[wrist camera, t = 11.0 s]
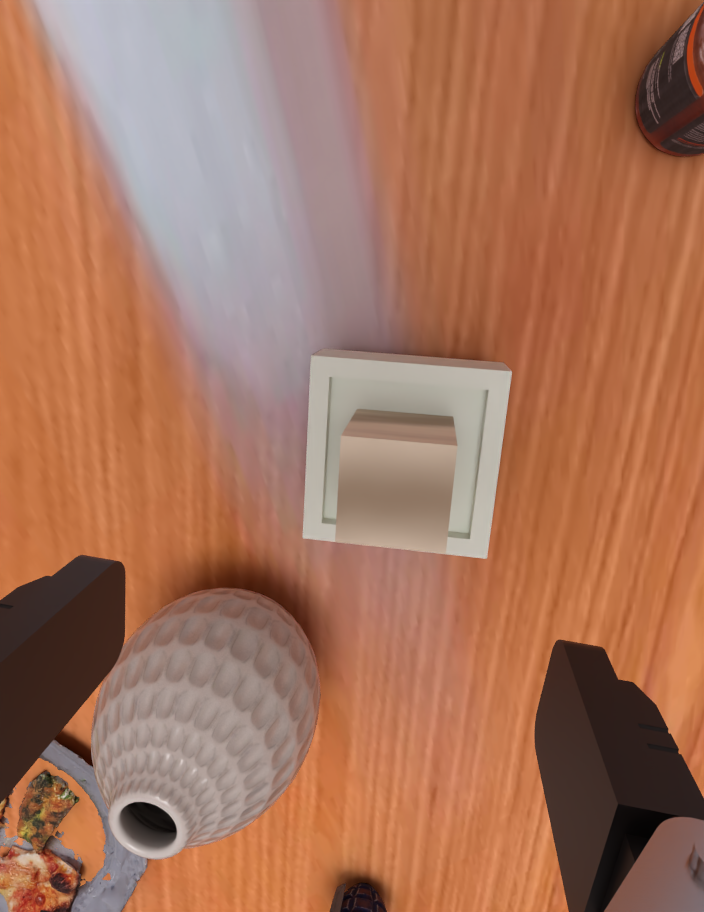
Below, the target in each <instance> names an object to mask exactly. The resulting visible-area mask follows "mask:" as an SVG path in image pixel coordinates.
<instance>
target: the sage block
mask: <svg viewBox="0 0 704 912" xmlns="http://www.w3.org/2000/svg"><path fill="white" fill-rule="evenodd" d="M511 376H512V371H511V370H510V369H509V368H508V367H507V366H506V365H505V363H504V362H491V361H478V360H465V359H452V358H440V357H427V356H414V355H401V354H388V353H376V352H363V351H350V350H337V349H322V350H320V351H318V352H316V353H315V354H313V355H311V365H310V387H309V409H308V431H307V453H306V476H305V498H304V520H303V538H305V539H314V540H323V541H332V542H335V534H336V516H337V497H338V479H339V460H340V442H341V435H342V433H343V431H344V430H345V428H346V426H347V425H348V423H349V421H350V420H351V418H352V417H353V415H354V413H355V412H356V410H357V409H367V410H379V411H391V412H404V413H416V414H428V415H440V416H452V417H453V419H454V425H455V432H456V439H457V455H456V465H455V474H454V483H453V492H452V501H451V510H450V520H449V529H448V538H447V547H446V554H448V555H457V556H466V557H475V558H484V559H487V554H488V547H489V539H490V532H491V524H492V517H493V509H494V502H495V495H496V487H497V480H498V472H499V465H500V457H501V450H502V443H503V435H504V428H505V420H506V413H507V405H508V398H509V391H510V383H511ZM413 551H414V550H413ZM421 552H423V551H421ZM430 553H432V552H430ZM439 554H442V553H439Z"/></svg>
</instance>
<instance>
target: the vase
mask: <svg viewBox="0 0 704 912" xmlns="http://www.w3.org/2000/svg"><path fill="white" fill-rule="evenodd" d="M320 696H321V694H320V678H319V670H318V665H317V661H316V656H315V654H314V652H313V649H312V647H311V644H310V642H309V640H308V638H307V636H306V634H305V633H304V631H303V629H302V628H301V626H300V625H299V623H298V622H297V621H296V620H295V619H294V617H293V616H292V615H291V614H290V613H289V612H288V611H287V610H286V609H284V608H283V607H282V606H281V605H280V604H278V603H277V602H275V601H274V600H272V599H271V598H269V597H267V596H265V595H263V594H260V593H257V592H254V591H250V590H244V589H239V588H216V589H208V590H201V591H198V592H194V593H190V594H188V595H186V596H184V597H181V598H179V599H177V600H175V601H173V602H171V603H169V604H167V605H165V606H164V607H163V608H161V609H160V610H158V611H157V612H155V613H154V614H153V615H152V616H151V617H150V618H148V619H147V620H146V621H145V622H144V623H143V624H142V625H141V626H140V627H139V628H138V629H137V630H136V631H135V632H134V633H133V634H132V635H131V637H130V638H129V639H128V640H127V641H126V643H125V644H124V645H123V647H122V650H121V653H120V656H119V658H118V660H117V662H116V664H115V666H114V667H113V668H112V670H111V671H110V672H109V673H108V675H107V676H106V677H105V678H104V680H103V682H102V685H101V688H100V691H99V694H98V697H97V700H96V705H95V710H94V716H93V723H92V735H91V756H92V762H93V768H94V774H95V779H96V782H97V785H98V788H99V790H100V793H101V796H102V798H103V800H104V802H105V804H106V806H107V808H108V823H109V827H110V830H111V832H112V834H113V836H114V837H115V839H116V840H117V841H118V842H119V843H120V844H121V845H122V846H123V847H124V848H125V849H127V850H128V851H130V852H131V853H133V854H135V855H137V856H140V857H143V858H147V859H155V860H156V859H166V858H169V857H172V856H174V855H176V854H177V853H179V852H180V851H181V850H183V849H185V848H194V847H199V846H203V845H207V844H211V843H214V842H217V841H220V840H222V839H224V838H227V837H229V836H231V835H233V834H235V833H237V832H238V831H240V830H242V829H244V828H245V827H247V826H248V825H249V824H251V823H252V822H254V821H255V820H256V819H257V818H259V817H260V816H261V815H262V814H264V813H265V812H266V811H267V810H268V809H269V808H270V807H271V806H272V805H273V804H274V803H275V802H276V801H277V800H278V799H279V798H280V796H281V795H282V794H283V793H284V792H285V790H286V789H287V788H288V787H289V785H290V784H291V783H292V781H293V780H294V778H295V777H296V775H297V773H298V771H299V770H300V768H301V766H302V764H303V762H304V760H305V757H306V755H307V753H308V751H309V748H310V745H311V742H312V739H313V735H314V732H315V728H316V725H317V719H318V712H319V704H320Z"/></svg>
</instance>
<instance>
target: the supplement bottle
mask: <svg viewBox="0 0 704 912" xmlns="http://www.w3.org/2000/svg"><path fill="white" fill-rule="evenodd" d="M635 108H636V116H637V120H638V124H639V126H640V128H641V130H642V132H643V134H644V135H645V137H646V138H647V139H648V140H649V142H650V143H651V144H652V145H654V146H655V147H656V148H658V149H659V150H661V151H663V152H665V153H668V154H671V155H676V156H696V155H701V154H704V2H703V3H702V4H701V5H700V6H699V7H698V8H697V10H696V11H695V12H694V13H693V14H692V15H691V16H690V17H689V18H688V19H687V20H686V21H685V22H684V24H683V25H682V26H681V27H680V28H679V29H678V30H677V31H676V32H675V33H674V34H673V35H672V37H671V38H670V39H669V40H668V41H667V42H666V43H665V44H664V45H663V46H662V47H661V48H660V49H659V50H658V52H657V53H656V54H655V55H654V57H653V58H652V60H651V61H650V62H649V64H648V65H647V66H646V68H645V70H644V72H643V75H642V77H641V79H640V82H639V85H638V88H637V93H636V104H635Z"/></svg>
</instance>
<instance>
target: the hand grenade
mask: <svg viewBox="0 0 704 912" xmlns="http://www.w3.org/2000/svg"><path fill="white" fill-rule="evenodd" d="M345 887H346V883H344V884H342V885H341V886H339V887H337V889H336V892H335V895H334V899H333V902H332V905H331V909H330V912H387V911H386V908H385V905H384V902H383V900H382V899H381V898H380V896H379V894H378V893H377V891H376V890H375V889H374V888H373V887H372V886H371V885H369V884H366V883H359V884H356V885H354V886H353V887H351V888H349V889H348V891H346V892H345V893H344V891H345Z"/></svg>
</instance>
